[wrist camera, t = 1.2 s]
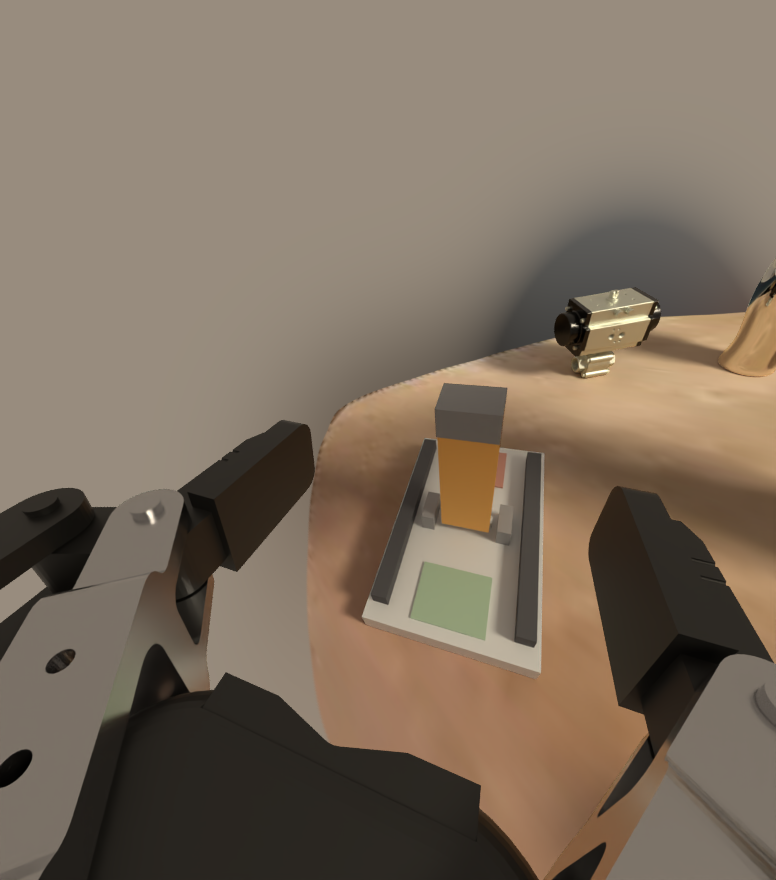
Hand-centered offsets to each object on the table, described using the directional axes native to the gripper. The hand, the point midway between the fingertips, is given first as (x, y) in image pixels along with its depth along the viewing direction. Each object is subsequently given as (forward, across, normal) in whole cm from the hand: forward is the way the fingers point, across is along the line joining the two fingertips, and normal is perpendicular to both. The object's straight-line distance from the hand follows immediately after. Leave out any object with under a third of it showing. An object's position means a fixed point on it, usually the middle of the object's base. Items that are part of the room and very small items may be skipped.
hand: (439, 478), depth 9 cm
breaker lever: (+18, -1, +18) cm, 25 cm away
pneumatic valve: (+49, -14, +12) cm, 52 cm away
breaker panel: (+19, -1, +21) cm, 28 cm away
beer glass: (+53, -34, +9) cm, 63 cm away
